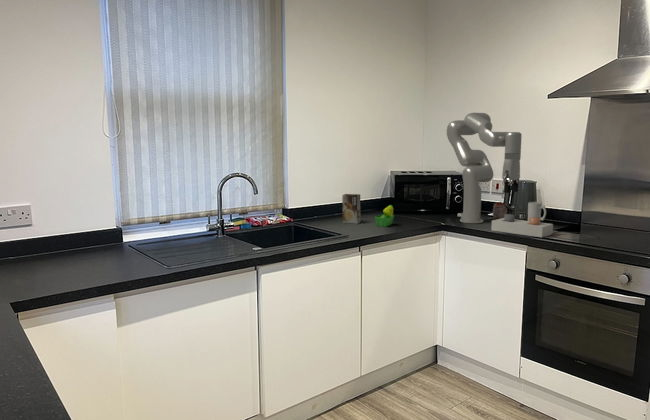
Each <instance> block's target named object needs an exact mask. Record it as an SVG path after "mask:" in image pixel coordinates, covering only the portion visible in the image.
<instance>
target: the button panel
mask: <svg viewBox="0 0 650 420" xmlns="http://www.w3.org/2000/svg"><path fill="white" fill-rule="evenodd" d="M490 229H491V231H492V232H493V231H494V232H501V233H508V234H514V235H515V234H516V235H523V236H529V237H537V238H544V237H548V236H551V235H553V234H554V233H553V231H554V224H553V223H549V222H548V223H546V222H540V225H531V224H529V221H528V220H524V219H515V222H506V221H504V218H501V219H493V220H491V228H490Z"/></svg>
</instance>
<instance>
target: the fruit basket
mask: <svg viewBox="0 0 650 420" xmlns="http://www.w3.org/2000/svg"><path fill="white" fill-rule="evenodd" d="M382 212H383V214H380V215H376V216H375V217H374V220H375V223H376V226H377V227H383V228H384V227H385V228H386V227H388V226H391V225H392V223H393V221H394V220H393V219H394V218H395V215H393V214H394V207H393V205H392V204H389V205H388V206H386V207H385V208H384V209H382Z"/></svg>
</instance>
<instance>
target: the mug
mask: <svg viewBox="0 0 650 420" xmlns="http://www.w3.org/2000/svg"><path fill="white" fill-rule="evenodd" d="M542 204H543V203H542V202H538V201H528V205H527V221H529V217H538V218H540V221H544V220H545V219H546V216H547V208H546V205H542ZM542 209H543V216H542V215H541V214H542Z"/></svg>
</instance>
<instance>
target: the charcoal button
mask: <svg viewBox="0 0 650 420" xmlns="http://www.w3.org/2000/svg"><path fill="white" fill-rule="evenodd" d="M515 220H516V215H515V214H510V213H507V214H505V216H504V221H506V222H515Z"/></svg>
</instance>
